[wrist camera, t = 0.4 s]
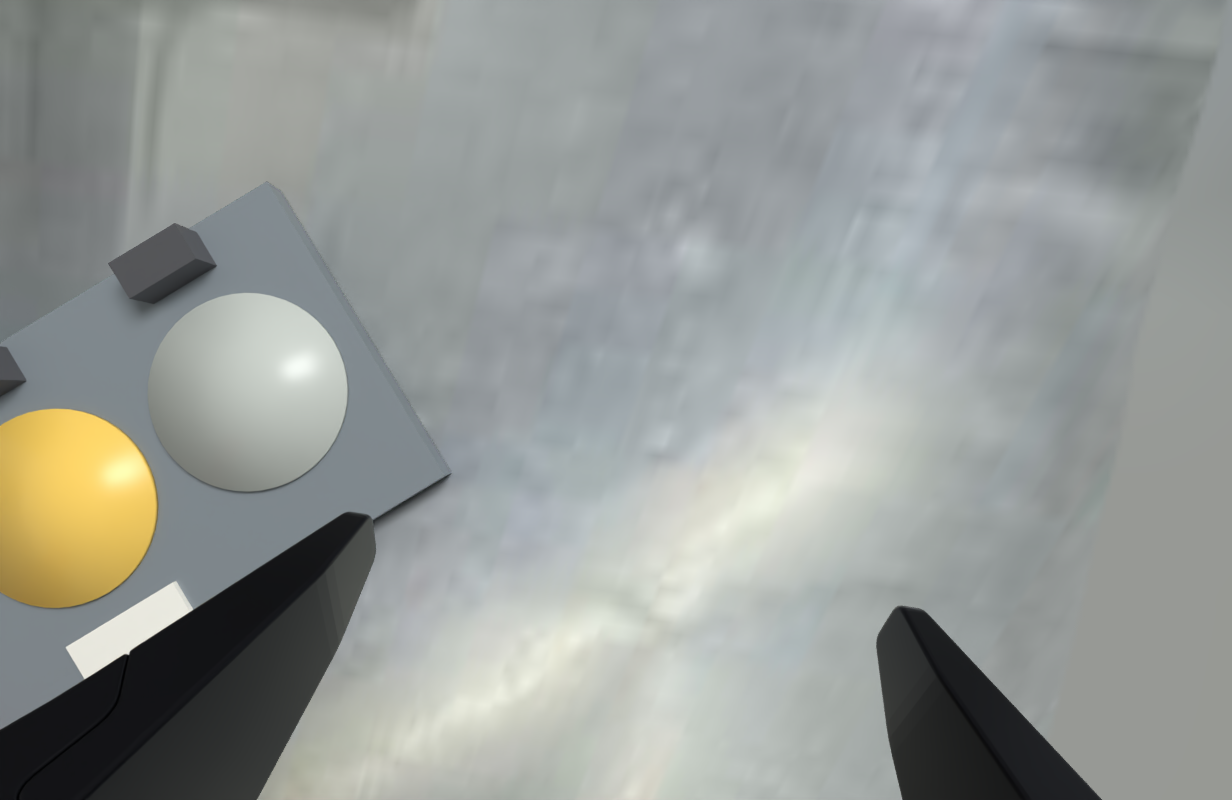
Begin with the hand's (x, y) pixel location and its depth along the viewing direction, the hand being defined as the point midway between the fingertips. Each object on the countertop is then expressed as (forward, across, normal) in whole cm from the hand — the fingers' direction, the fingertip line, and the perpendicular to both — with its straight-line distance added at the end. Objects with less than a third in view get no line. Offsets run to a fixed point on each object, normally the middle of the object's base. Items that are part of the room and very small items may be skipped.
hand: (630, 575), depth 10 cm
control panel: (+10, +22, +12) cm, 27 cm away
